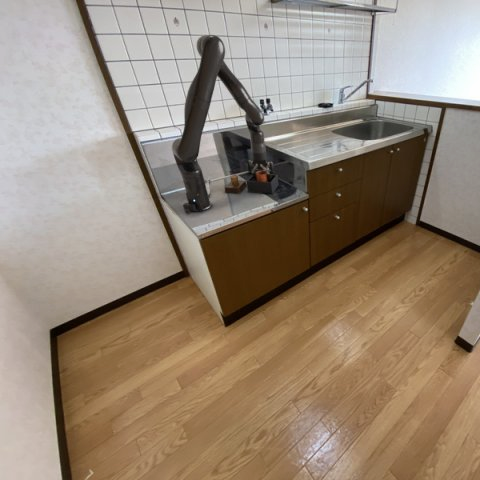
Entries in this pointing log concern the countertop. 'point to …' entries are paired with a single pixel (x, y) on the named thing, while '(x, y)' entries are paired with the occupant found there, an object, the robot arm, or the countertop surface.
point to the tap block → (235, 187)
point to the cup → (262, 176)
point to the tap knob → (234, 180)
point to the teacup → (208, 185)
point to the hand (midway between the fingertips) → (262, 179)
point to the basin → (262, 185)
